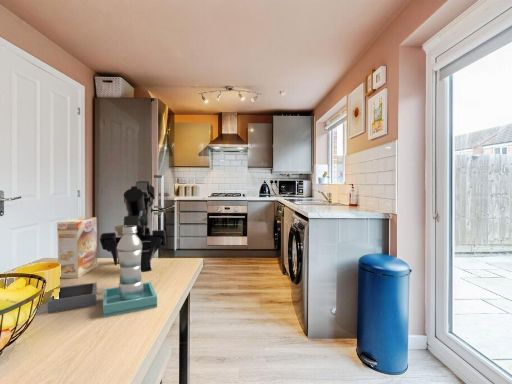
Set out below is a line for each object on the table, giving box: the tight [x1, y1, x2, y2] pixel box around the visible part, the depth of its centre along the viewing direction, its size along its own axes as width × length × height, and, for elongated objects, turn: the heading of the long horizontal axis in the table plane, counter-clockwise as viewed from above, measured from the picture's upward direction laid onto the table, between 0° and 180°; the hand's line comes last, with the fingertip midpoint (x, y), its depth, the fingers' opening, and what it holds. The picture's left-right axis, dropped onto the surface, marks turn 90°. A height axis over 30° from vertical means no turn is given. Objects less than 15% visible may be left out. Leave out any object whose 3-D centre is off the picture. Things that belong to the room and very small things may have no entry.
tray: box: [102, 281, 158, 318], centre depth 80 cm, size 13×13×3 cm
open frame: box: [46, 281, 98, 314], centre depth 81 cm, size 11×11×3 cm
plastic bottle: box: [117, 225, 144, 300], centre depth 81 cm, size 6×7×20 cm
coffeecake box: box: [56, 216, 98, 279], centre depth 108 cm, size 15×7×20 cm, turn 5°
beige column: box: [114, 224, 124, 264], centre depth 120 cm, size 5×6×15 cm
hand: (132, 263), depth 87 cm, fingers open, 9 cm apart
